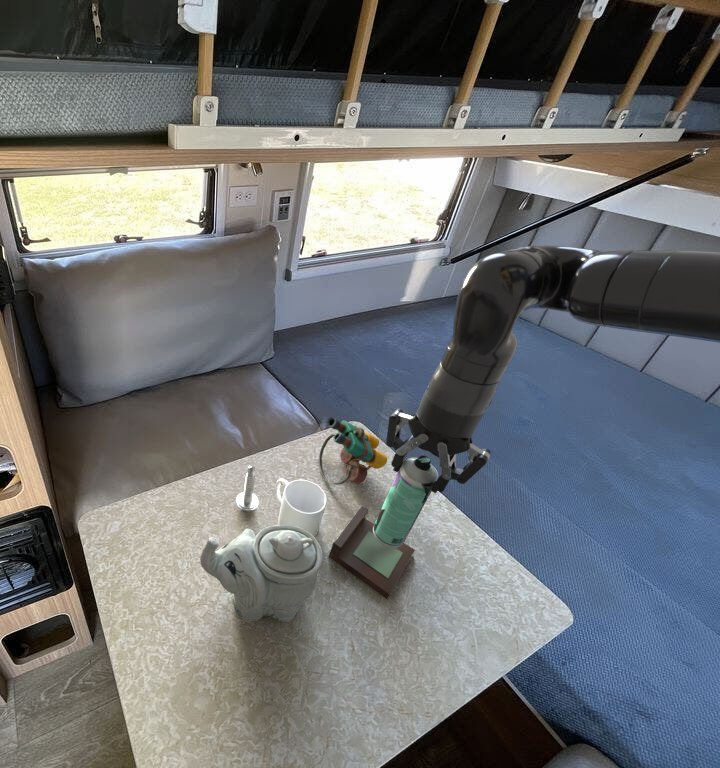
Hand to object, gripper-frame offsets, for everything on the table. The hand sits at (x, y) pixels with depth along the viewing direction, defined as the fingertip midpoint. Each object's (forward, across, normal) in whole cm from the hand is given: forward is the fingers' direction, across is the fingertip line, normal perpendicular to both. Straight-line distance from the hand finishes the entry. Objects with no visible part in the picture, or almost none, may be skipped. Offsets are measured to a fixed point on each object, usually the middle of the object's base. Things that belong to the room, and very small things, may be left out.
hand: (416, 478), depth 65 cm
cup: (+24, -17, -4) cm, 30 cm away
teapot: (+24, -13, -22) cm, 35 cm away
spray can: (+16, 0, 0) cm, 16 cm away
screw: (+24, -26, -8) cm, 37 cm away
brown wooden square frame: (+24, -1, 0) cm, 24 cm away
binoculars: (+24, -15, +17) cm, 33 cm away
